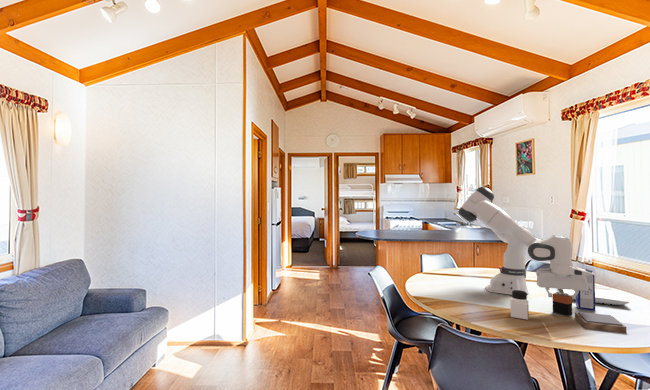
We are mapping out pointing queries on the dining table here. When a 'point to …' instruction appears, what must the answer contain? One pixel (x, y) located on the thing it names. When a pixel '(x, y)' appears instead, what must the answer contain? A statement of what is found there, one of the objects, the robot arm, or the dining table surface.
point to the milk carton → (587, 293)
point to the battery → (562, 303)
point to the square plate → (605, 296)
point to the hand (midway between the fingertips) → (561, 298)
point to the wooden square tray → (600, 322)
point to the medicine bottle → (519, 304)
